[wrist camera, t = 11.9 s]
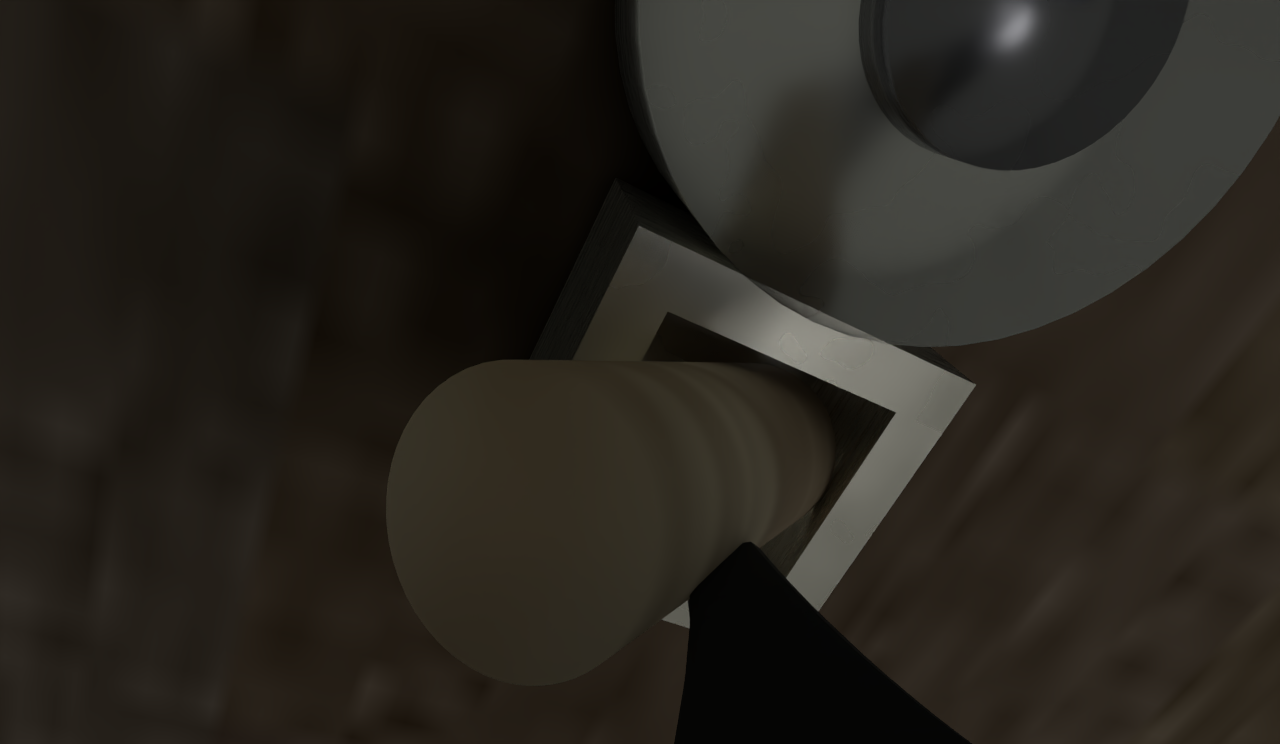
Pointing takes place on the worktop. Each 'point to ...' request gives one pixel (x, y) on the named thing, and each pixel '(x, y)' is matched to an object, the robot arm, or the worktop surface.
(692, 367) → the key peg
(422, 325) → the worktop surface
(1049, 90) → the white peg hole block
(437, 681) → the worktop surface
